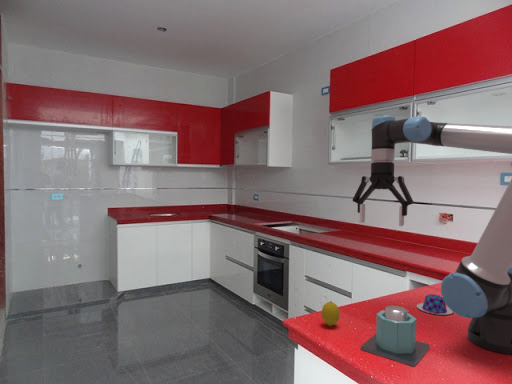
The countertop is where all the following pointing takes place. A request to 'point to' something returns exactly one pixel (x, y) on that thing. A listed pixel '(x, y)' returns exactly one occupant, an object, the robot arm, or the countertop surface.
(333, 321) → the lemon
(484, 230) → the robot arm
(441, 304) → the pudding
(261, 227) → the countertop surface
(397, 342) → the collar
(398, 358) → the domed lamp fixture
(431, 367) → the countertop surface
